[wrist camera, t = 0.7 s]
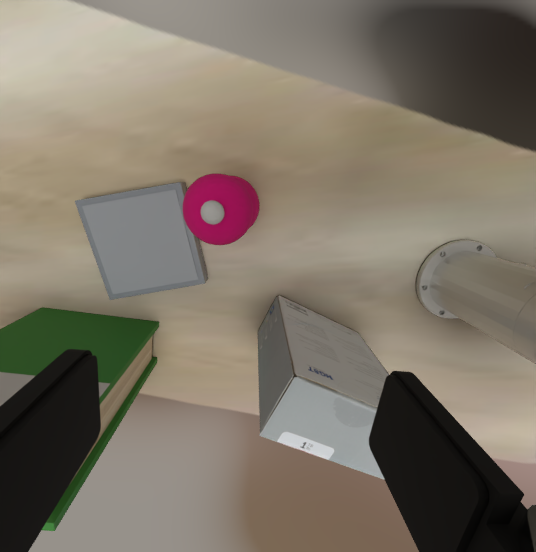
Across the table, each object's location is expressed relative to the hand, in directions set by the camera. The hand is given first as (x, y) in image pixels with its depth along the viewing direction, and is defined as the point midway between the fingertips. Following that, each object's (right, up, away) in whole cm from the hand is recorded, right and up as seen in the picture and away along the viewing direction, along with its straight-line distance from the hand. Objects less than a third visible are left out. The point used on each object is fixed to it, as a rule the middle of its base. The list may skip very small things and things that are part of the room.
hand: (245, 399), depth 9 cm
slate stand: (-16, +9, +31) cm, 36 cm away
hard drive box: (+7, -5, +36) cm, 38 cm away
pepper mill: (-4, +14, +30) cm, 34 cm away
